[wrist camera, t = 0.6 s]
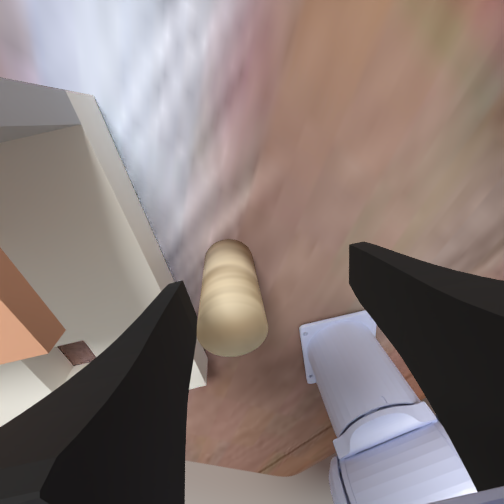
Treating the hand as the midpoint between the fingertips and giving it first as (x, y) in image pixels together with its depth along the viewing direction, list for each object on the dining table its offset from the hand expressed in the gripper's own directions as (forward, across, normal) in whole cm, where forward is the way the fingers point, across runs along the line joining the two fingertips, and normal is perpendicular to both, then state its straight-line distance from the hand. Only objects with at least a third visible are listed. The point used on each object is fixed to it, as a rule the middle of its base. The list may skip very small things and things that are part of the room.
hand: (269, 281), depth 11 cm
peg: (+10, +2, +4) cm, 11 cm away
